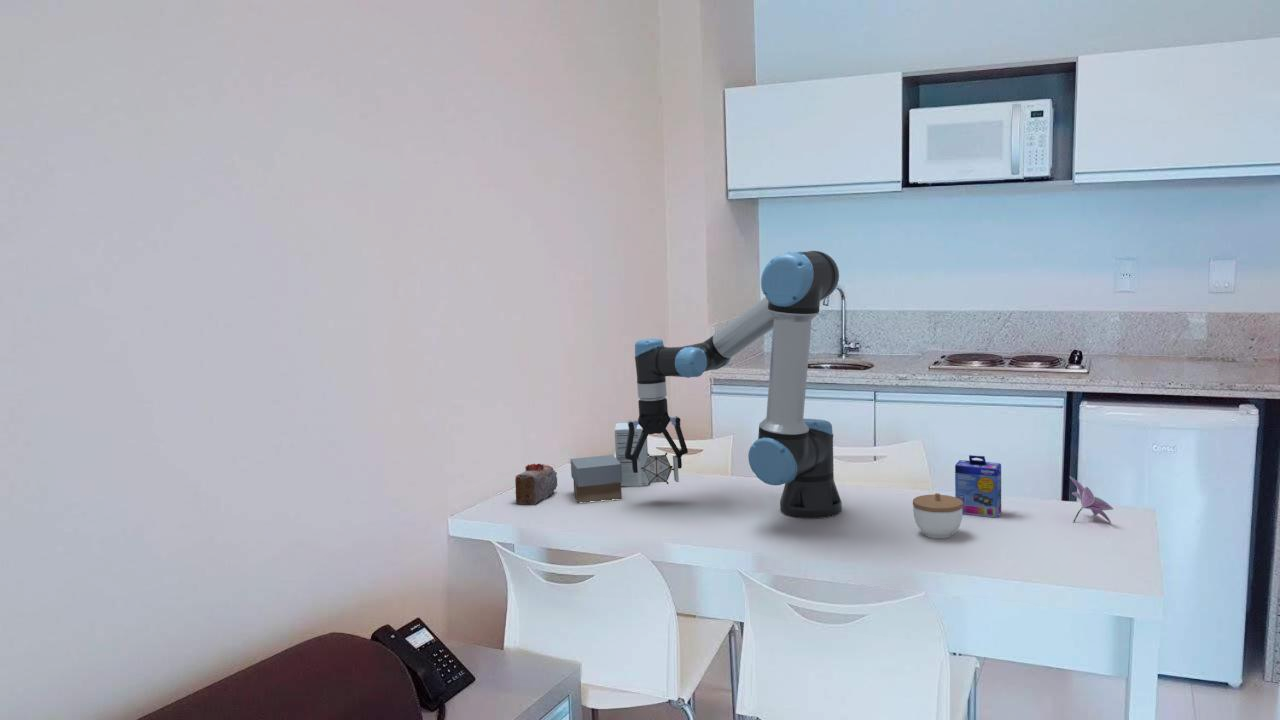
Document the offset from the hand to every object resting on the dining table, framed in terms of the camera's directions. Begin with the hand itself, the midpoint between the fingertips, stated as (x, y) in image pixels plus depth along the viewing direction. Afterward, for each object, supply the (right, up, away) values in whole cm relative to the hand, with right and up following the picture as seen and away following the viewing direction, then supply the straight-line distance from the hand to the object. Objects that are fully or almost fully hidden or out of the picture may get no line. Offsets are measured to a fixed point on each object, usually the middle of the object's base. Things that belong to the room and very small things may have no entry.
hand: (658, 482), depth 240 cm
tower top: (-17, -1, +11) cm, 20 cm away
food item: (-33, -6, +12) cm, 36 cm away
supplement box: (-7, -3, +23) cm, 24 cm away
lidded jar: (+62, -7, -35) cm, 72 cm away
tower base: (-17, -5, +11) cm, 21 cm away
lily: (+98, -5, -31) cm, 103 cm away
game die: (0, 0, 0) cm, 1 cm away
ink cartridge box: (+76, -5, -21) cm, 79 cm away
